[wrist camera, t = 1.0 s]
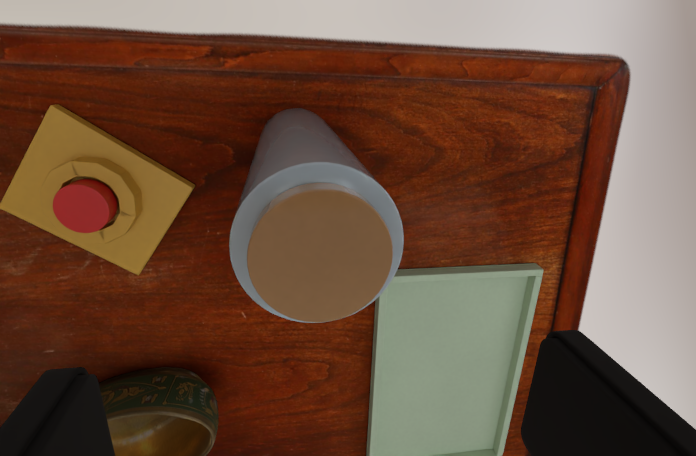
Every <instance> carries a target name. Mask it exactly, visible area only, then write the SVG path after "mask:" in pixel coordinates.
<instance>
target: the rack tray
mask: <svg viewBox="0 0 696 456" xmlns="http://www.w3.org/2000/svg"><path fill="white" fill-rule="evenodd" d="M542 274H543V269H542V268H541V267H540V266H538V265H537V264H536V263H527V264H505V265H483V266H461V267H440V268H418V269H397V272H396V273H395V275H394V277H393V279H392V281H391V282H390V284H389V285H388V286H387V288H386V289H385V290H384V291H383V292H382V294H381V295H380V296H379V297H378V298H377V299H376V301H375V317H374V334H373V351H372V368H371V385H370V402H369V419H368V436H367V453H366V456H502V455H503V451H504V446H505V442H506V437H507V433H508V428H509V424H510V419H511V415H512V410H513V406H514V401H515V397H516V392H517V388H518V383H519V379H520V374H521V370H522V365H523V361H524V356H525V352H526V347H527V343H528V338H529V334H530V329H531V325H532V320H533V316H534V311H535V307H536V302H537V298H538V293H539V289H540V284H541V280H542Z"/></svg>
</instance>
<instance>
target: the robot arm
mask: <svg viewBox="0 0 696 456" xmlns="http://www.w3.org/2000/svg"><path fill="white" fill-rule="evenodd" d="M521 435H522V440H523V442H524V444H525V446H526V448H527V449H528V451H529V452H530V454H531V455H532V456H696V430H695V429H694V428H693V427H692V426H691V425H689V424H688V423H687V422H686V421H685V420H684V419H682V418H681V417H680V416H679V415H678V414H677V413H675V412H674V411H673V410H672V409H670V407H668V406H667V405H666V404H665V403H664V402H662V401H661V400H660V399H659V398H658V397H656V396H655V395H654V394H653V393H652V392H651V391H649V390H648V389H647V388H646V387H645V386H644V385H643V384H641V383H640V382H639V381H638V380H637V379H635V378H634V377H633V376H632V375H631V374H630V373H628V372H627V371H626V370H625V369H624V368H623V367H621V366H620V365H619V364H618V363H617V362H616V361H614V360H613V359H612V358H611V357H609V356H608V355H607V354H606V353H605V352H604V351H603V350H601V349H600V348H599V347H598V346H597V345H596V344H594V343H593V342H592V341H591V340H590V339H588V338H587V337H586V336H585V335H584V334H582V333H581V332H580V331H577V330H567V331H554V332H550V333H549V334H548V335H547V337H546V339H544V340H543V341H542V342H541V344H540V349H539V353H538V357H537V362H536V366H535V370H534V375H533V379H532V383H531V388H530V392H529V396H528V401H527V405H526V409H525V414H524V418H523V422H522V427H521ZM0 456H115V452H114V448H113V443H112V439H111V435H110V431H109V426H108V422H107V418H106V413H105V409H104V405H103V400H102V396H101V392H100V388H99V383H98V379H97V377H96V376H95V375H94V374H89V375H88V372H87V370H86V369H85V368H82V367H77V368H64V369H51V370H48V371H46V372H45V373H44V374H43V375H42V376H41V377H40V378H39V380H38V381H37V382H36V383H35V385H34V386H33V387H32V388H31V390H30V391H29V392H28V393H27V395H26V396H25V397H24V399H23V400H22V401H21V402H20V404H19V405H18V406H17V407H16V409H15V410H14V411H13V412H12V414H11V415H10V416H9V417H8V419H7V420H6V421H5V423H4V424H3V425H2V426H1V428H0Z"/></svg>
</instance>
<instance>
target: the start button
mask: <svg viewBox="0 0 696 456" xmlns="http://www.w3.org/2000/svg"><path fill="white" fill-rule="evenodd" d="M53 211H54V214H55V216H56V218H57V219H58V220H59V221H60V223H61V224H63V225H64V226H65V227H67V228H68V229H70V230H73V231H75V232H79V233H92V232H96V231H98V230H100V229H101V228H103V227H104V226H105V225H106V224H107V223H108V222H110V221H111V220H112V219H113V218H114V216H115V214H116V212H117V201H116V198H115V196H114V194H113V192H112V191H111V190H110V189H109V188H108V187H107V186H106V185H104V184H102V183H100V182H98V181H95V180H91V179H80V180H77V181H74V182H72V183H70V184H69V185H67V186H65V187H63V188H61V189H60V190H59V191H58V192H57V193H56V195H55V196H54V199H53Z"/></svg>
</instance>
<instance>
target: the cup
mask: <svg viewBox="0 0 696 456" xmlns="http://www.w3.org/2000/svg"><path fill="white" fill-rule="evenodd" d="M99 388H100V392H101V396H102V400H103V405H104V409H105V413H106V418H107V422H108V426H109V431H110V435H111V439H112V443H113V448H114V452H115V456H206V455H207V454H208V453H209V451H210V450H211V448H212V446H213V444H214V441H215V438H216V433H217V428H218V406H217V400H216V397H215V395H214V393H213V391H212V389H211V388H210V387H209V386H208V385H207V384H206V383H205V382H204V381H203V380H202V379H201V378H200V377H199V376H198V375H197V374H195V373H194V372H192V371H190V370H186V369H182V368H170V367H169V368H168V367H164V368H153V369H146V370H140V371H135V372H130V373H126V374H123V375H119V376H117V377H113V378H110V379H107V380H105V381H103V382H100V383H99Z"/></svg>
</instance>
